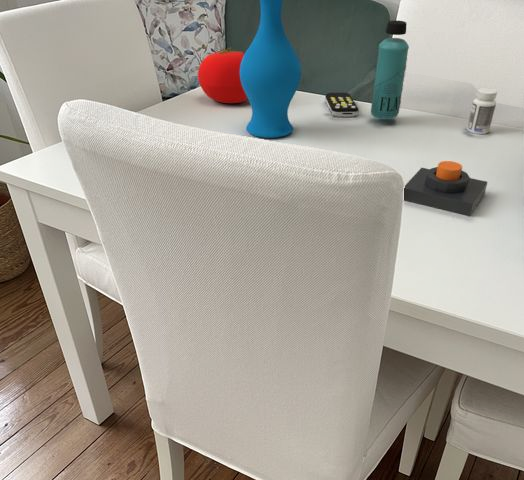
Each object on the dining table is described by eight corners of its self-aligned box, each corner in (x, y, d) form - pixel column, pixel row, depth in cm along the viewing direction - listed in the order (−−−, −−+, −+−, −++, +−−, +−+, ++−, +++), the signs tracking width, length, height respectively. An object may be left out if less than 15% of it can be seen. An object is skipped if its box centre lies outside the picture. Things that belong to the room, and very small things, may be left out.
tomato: (233, 113, 133) (231, 59, 125) (190, 101, 139) (186, 49, 132) (266, 100, 140) (266, 49, 133) (224, 89, 147) (222, 39, 139)
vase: (301, 140, 120) (309, -16, 101) (241, 142, 119) (238, -16, 101) (295, 121, 129) (301, -26, 111) (239, 122, 128) (236, -26, 110)
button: (462, 175, 98) (465, 163, 97) (455, 183, 96) (458, 172, 94) (439, 170, 100) (442, 159, 99) (432, 178, 97) (435, 167, 96)
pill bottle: (492, 130, 125) (503, 90, 120) (482, 136, 123) (492, 95, 117) (472, 125, 128) (482, 85, 122) (462, 130, 125) (471, 90, 120)
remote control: (348, 99, 141) (349, 91, 139) (358, 117, 131) (359, 108, 130) (324, 100, 140) (324, 91, 139) (332, 117, 131) (332, 108, 130)
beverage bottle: (374, 126, 126) (387, 25, 113) (365, 116, 131) (377, 18, 118) (402, 125, 127) (418, 24, 114) (392, 115, 132) (407, 17, 119)
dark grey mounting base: (484, 193, 101) (490, 171, 99) (469, 216, 95) (475, 193, 92) (419, 178, 106) (423, 157, 103) (400, 199, 99) (404, 177, 97)
